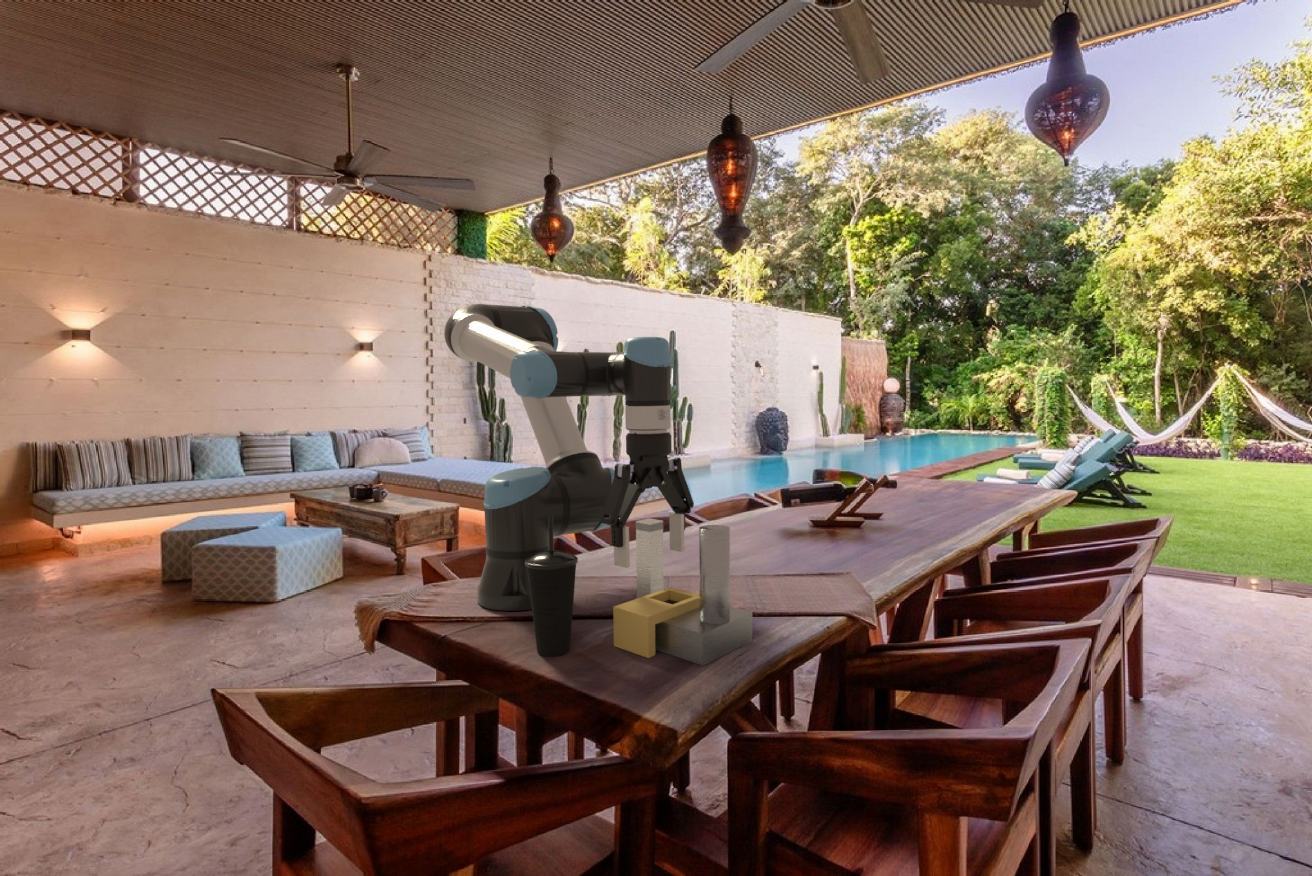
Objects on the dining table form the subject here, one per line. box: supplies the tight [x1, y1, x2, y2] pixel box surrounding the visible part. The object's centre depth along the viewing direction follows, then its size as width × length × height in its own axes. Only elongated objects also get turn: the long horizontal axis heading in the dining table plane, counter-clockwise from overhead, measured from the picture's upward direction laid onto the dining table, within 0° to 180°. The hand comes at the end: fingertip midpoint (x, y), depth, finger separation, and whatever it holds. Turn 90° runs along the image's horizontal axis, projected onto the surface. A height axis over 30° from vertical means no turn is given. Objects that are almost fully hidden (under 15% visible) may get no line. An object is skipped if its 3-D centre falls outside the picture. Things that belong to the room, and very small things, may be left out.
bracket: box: [612, 586, 700, 659], centre depth 107 cm, size 7×13×6 cm, turn 138°
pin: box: [635, 517, 665, 599], centre depth 119 cm, size 3×3×16 cm
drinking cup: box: [525, 516, 579, 658], centre depth 103 cm, size 8×8×20 cm
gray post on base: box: [655, 524, 753, 666], centre depth 106 cm, size 15×12×18 cm
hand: (650, 558), depth 118 cm, fingers open, 13 cm apart
